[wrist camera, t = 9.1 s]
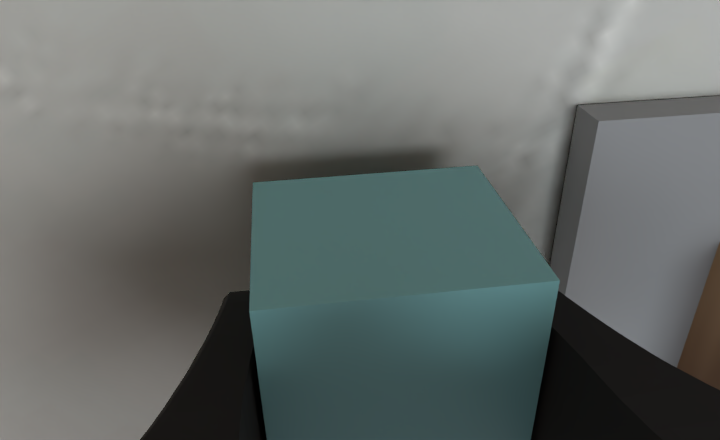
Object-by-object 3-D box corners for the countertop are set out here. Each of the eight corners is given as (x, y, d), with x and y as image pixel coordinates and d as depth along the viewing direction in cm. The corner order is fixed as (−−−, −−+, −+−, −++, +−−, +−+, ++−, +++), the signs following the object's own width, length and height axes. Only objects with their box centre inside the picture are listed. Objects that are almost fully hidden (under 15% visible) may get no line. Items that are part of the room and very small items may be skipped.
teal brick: (460, 351, 15) (520, 497, 11) (275, 371, 14) (279, 531, 11) (476, 165, 12) (560, 280, 9) (252, 182, 12) (249, 311, 8)
